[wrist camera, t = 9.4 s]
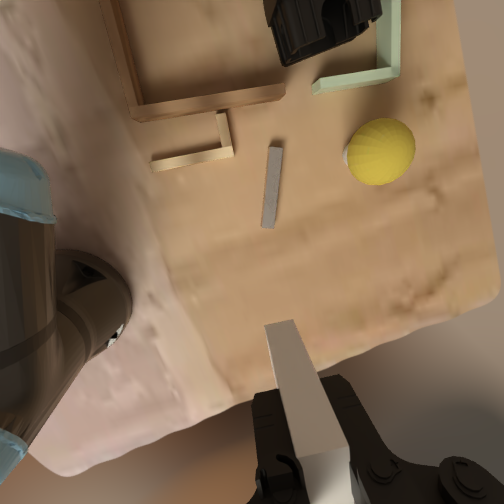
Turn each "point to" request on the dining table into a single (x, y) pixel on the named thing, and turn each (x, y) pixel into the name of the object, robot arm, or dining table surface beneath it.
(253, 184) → the dining table surface
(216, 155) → the beech crook
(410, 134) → the light bulb
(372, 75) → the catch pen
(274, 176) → the grey metal bar
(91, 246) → the dining table surface
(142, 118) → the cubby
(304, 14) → the end cap
